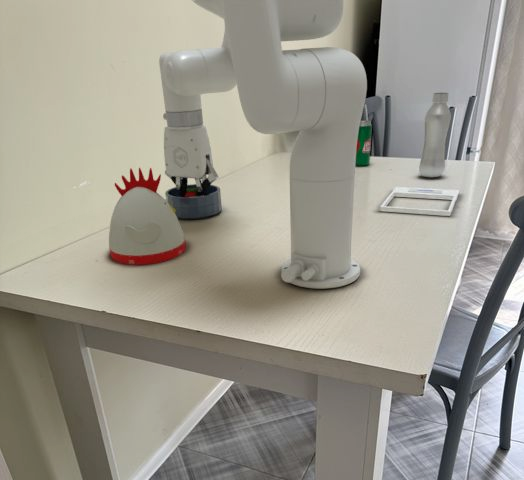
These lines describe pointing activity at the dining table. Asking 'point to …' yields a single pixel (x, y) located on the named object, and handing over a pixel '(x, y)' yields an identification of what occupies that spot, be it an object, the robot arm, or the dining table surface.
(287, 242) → the dining table surface
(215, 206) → the bowl
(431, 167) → the plastic bottle
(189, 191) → the red tomato
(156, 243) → the kitchen timer
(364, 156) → the soda can
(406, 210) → the photo frame
